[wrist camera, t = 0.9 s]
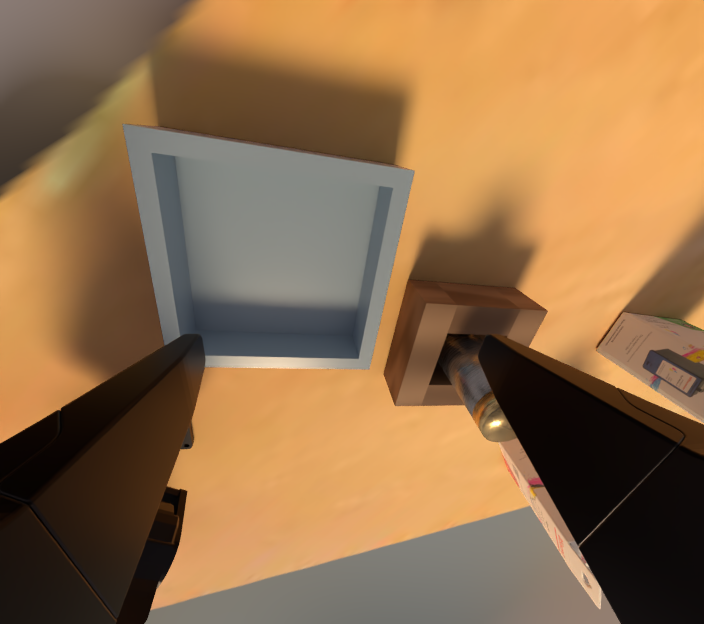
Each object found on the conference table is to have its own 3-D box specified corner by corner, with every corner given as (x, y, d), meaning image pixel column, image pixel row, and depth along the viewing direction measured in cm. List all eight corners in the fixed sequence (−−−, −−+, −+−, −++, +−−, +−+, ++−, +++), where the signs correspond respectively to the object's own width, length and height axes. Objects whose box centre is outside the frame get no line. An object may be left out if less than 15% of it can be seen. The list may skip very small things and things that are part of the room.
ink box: (592, 349, 32) (728, 448, 22) (623, 307, 29) (792, 396, 19) (651, 355, 34) (801, 448, 24) (685, 316, 31) (867, 401, 21)
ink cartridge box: (540, 454, 41) (646, 594, 28) (506, 468, 42) (596, 612, 29) (533, 419, 37) (655, 567, 24) (495, 435, 37) (595, 588, 25)
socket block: (475, 375, 31) (497, 404, 28) (383, 374, 29) (395, 406, 26) (515, 288, 26) (547, 311, 23) (408, 279, 24) (426, 303, 21)
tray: (360, 339, 26) (369, 369, 23) (187, 333, 24) (168, 366, 20) (394, 164, 20) (414, 170, 16) (158, 126, 17) (122, 123, 13)
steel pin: (459, 351, 29) (525, 440, 20) (420, 350, 28) (472, 443, 20) (473, 315, 27) (553, 398, 19) (432, 313, 26) (496, 398, 18)
